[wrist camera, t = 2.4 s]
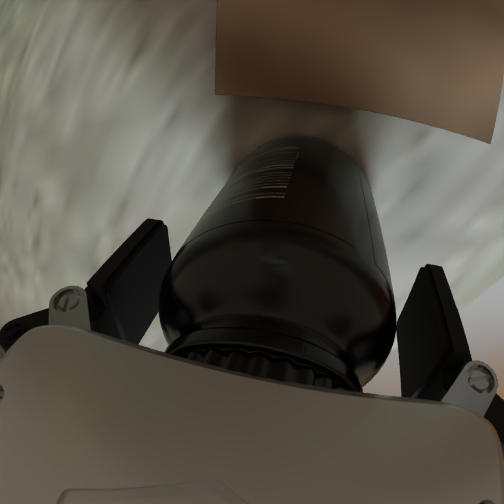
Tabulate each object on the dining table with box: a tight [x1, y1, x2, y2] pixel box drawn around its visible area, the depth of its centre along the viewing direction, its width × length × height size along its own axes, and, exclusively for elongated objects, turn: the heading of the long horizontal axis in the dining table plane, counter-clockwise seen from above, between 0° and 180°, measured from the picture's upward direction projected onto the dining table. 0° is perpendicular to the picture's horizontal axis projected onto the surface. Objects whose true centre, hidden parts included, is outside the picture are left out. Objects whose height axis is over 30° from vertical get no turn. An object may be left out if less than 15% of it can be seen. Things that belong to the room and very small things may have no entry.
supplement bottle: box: [158, 136, 396, 393], centre depth 10 cm, size 7×7×12 cm
